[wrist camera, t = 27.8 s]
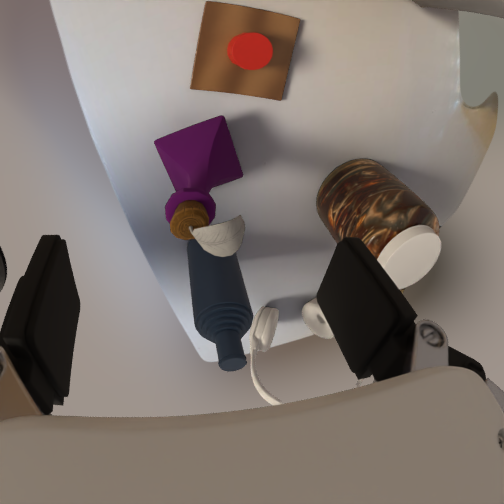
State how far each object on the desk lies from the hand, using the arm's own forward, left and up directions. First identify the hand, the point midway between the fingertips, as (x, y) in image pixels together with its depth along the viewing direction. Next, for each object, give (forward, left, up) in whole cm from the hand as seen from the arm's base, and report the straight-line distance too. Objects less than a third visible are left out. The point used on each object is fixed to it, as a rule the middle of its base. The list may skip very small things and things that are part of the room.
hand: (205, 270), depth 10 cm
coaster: (+5, +7, -26) cm, 28 cm away
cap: (+5, +7, -26) cm, 27 cm away
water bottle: (+5, -19, -26) cm, 33 cm away
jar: (+24, -9, -26) cm, 37 cm away
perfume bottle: (+2, -5, -26) cm, 27 cm away
